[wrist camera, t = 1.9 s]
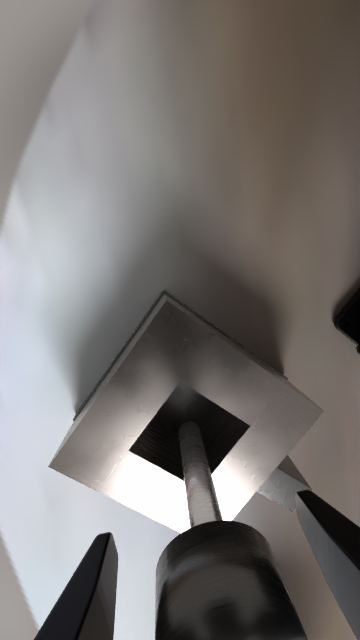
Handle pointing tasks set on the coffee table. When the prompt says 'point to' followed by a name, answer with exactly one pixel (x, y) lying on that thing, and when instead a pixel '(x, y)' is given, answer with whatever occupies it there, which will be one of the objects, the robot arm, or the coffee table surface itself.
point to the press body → (187, 420)
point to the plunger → (218, 570)
